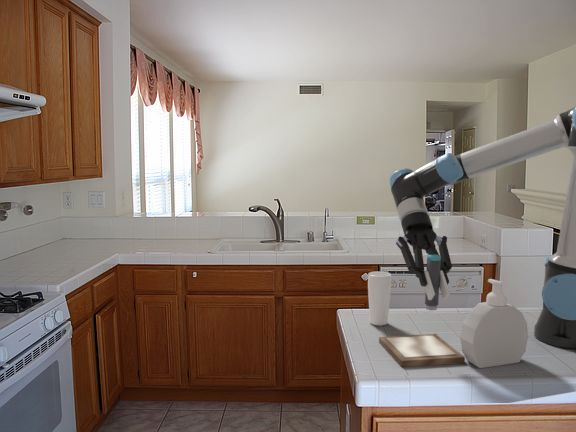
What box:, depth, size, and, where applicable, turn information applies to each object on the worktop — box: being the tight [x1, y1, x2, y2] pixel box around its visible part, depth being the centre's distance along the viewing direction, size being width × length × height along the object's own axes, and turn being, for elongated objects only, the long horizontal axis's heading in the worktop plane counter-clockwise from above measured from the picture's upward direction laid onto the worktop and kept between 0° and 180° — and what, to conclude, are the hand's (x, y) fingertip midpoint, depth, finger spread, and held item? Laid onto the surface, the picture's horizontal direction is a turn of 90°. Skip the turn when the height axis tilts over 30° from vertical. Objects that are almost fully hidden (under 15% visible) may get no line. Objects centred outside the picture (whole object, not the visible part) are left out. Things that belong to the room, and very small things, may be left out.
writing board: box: [378, 333, 466, 368], centre depth 130 cm, size 16×16×2 cm
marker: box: [424, 254, 441, 311], centre depth 126 cm, size 3×3×13 cm
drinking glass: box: [367, 270, 392, 327], centre depth 152 cm, size 7×7×15 cm
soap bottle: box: [459, 278, 529, 369], centre depth 124 cm, size 16×5×20 cm, turn 108°
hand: (439, 296), depth 123 cm, fingers closed on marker, 3 cm apart
